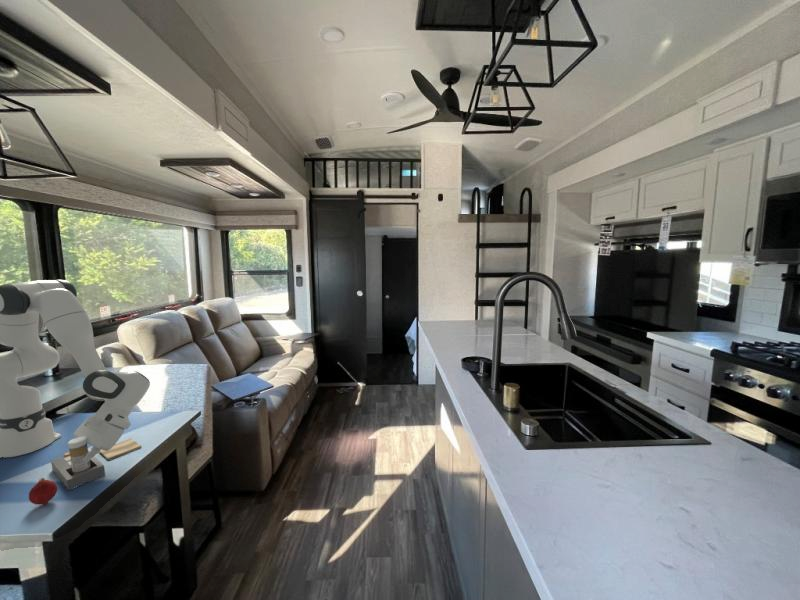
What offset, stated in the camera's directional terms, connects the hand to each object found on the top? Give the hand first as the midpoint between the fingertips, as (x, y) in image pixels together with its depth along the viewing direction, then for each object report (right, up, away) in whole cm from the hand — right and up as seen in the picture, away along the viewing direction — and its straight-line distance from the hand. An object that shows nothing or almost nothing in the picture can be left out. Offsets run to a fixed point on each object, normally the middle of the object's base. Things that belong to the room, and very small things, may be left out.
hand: (78, 457), depth 110 cm
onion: (+1, -9, -11) cm, 14 cm away
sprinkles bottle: (0, -7, +1) cm, 8 cm away
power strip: (-6, -7, +6) cm, 11 cm away
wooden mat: (-1, -5, +17) cm, 18 cm away
